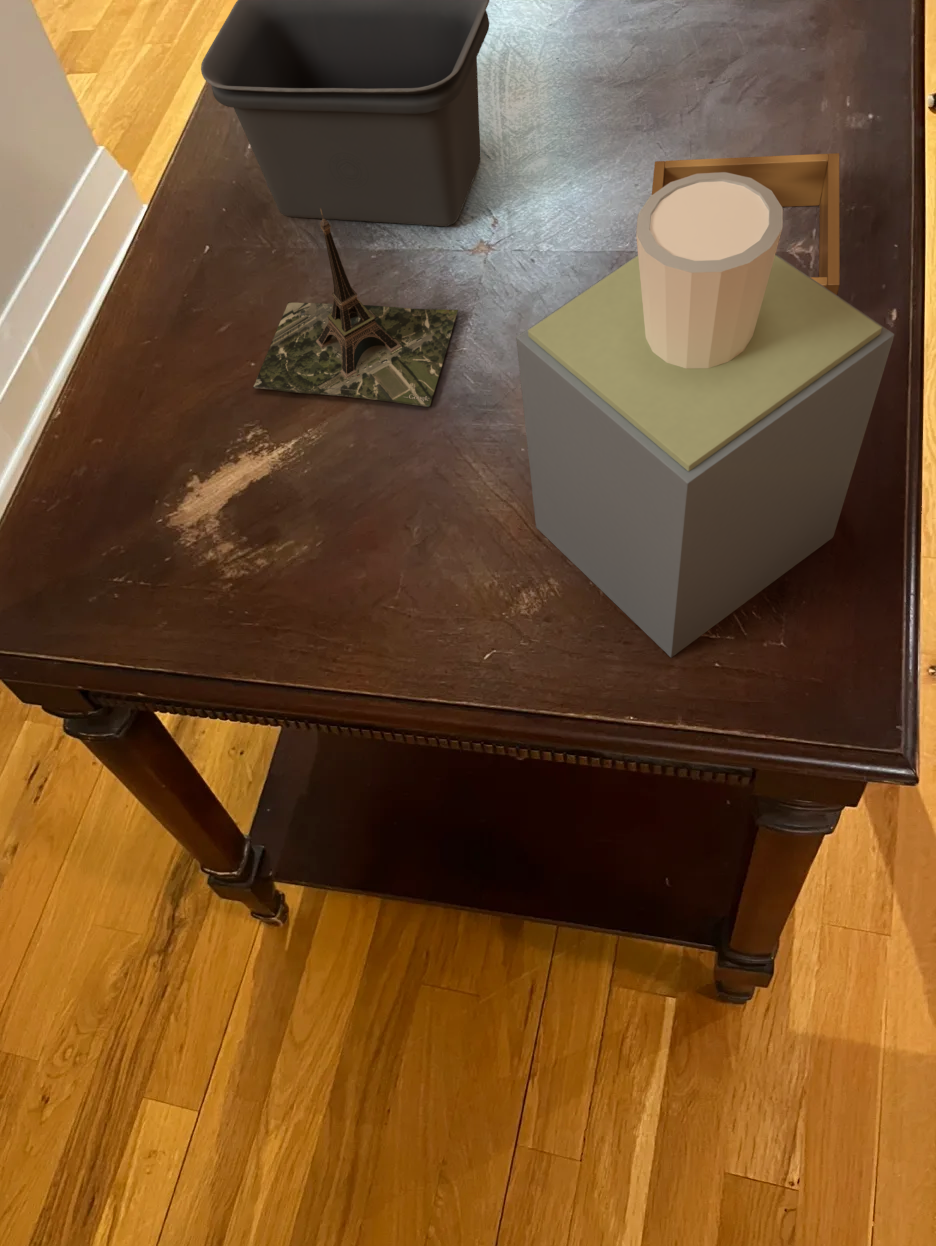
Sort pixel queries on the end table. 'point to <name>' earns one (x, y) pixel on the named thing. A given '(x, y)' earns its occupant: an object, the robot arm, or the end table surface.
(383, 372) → the eiffel tower figurine
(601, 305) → the mat
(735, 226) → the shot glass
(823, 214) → the wooden frame
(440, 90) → the storage bin
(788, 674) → the end table surface
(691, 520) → the block
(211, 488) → the end table surface
